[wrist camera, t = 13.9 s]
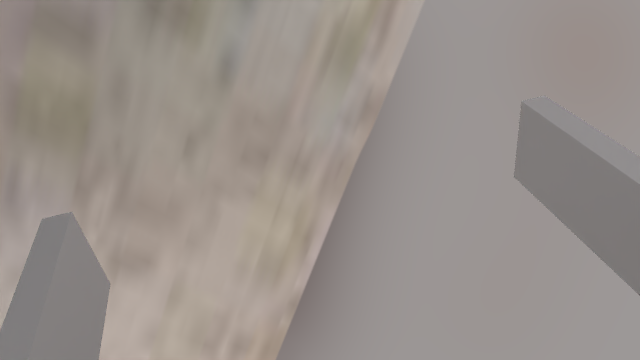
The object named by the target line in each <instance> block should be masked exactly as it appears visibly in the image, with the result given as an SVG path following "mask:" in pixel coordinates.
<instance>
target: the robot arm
mask: <svg viewBox="0 0 640 360" xmlns="http://www.w3.org/2000/svg"><path fill="white" fill-rule="evenodd" d="M514 177H515V178H516V179H517V180H518V181H519V182H520V183H521V184H522V185H523V186H524V187H525V188H526V189H527V190H528V191H529V192H530V193H531V194H533V195H534V196H535V197H536V198H537V199H538V200H539V201H540V202H541V203H542V204H543V205H544V206H545V207H546V208H547V209H548V210H550V211H551V212H552V213H553V214H554V215H555V216H556V217H557V218H558V219H559V220H560V221H561V222H562V223H563V224H564V225H565V226H567V227H568V228H569V229H570V230H571V231H572V232H573V233H574V234H575V235H576V236H577V237H578V238H579V239H580V240H581V241H582V242H583V243H585V244H586V245H587V246H588V247H589V248H590V249H591V250H592V251H593V252H594V253H595V254H596V255H597V256H598V257H599V258H600V259H601V260H602V261H604V262H605V263H606V264H607V265H608V266H609V267H610V268H611V269H612V270H613V271H614V272H615V273H616V274H617V275H618V276H619V277H621V278H622V279H623V280H624V281H625V282H626V283H627V284H628V285H629V286H630V287H631V288H632V289H633V290H634V291H635V292H636V293H638V294H639V295H640V156H638V155H637V154H635V153H634V152H632V151H630V150H629V149H627V148H626V147H624V146H623V145H621V144H619V143H618V142H616V141H615V140H613V139H612V138H610V137H609V136H607V135H605V134H604V133H602V132H601V131H599V130H598V129H596V128H594V127H593V126H591V125H590V124H588V123H587V122H585V121H584V120H582V119H581V118H579V117H578V116H576V115H574V114H573V113H571V112H570V111H568V110H567V109H565V108H564V107H562V106H560V105H559V104H557V103H556V102H554V101H552V100H551V99H550V98H548V97H546V96H541V97H537V98H533V99H529V100H525V101H522V102H521V112H520V122H519V131H518V141H517V151H516V161H515V172H514ZM109 289H110V282H109V280H108V279H107V277H106V275H105V273H104V271H103V269H102V267H101V265H100V264H99V262H98V260H97V258H96V256H95V254H94V252H93V251H92V249H91V247H90V245H89V243H88V241H87V239H86V237H85V236H84V234H83V232H82V230H81V228H80V226H79V224H78V222H77V221H76V219H75V217H74V215H73V213H72V212H69V213H65V214H61V215H57V216H52V217H48V218H44V219H42V221H41V224H40V226H39V229H38V232H37V234H36V237H35V240H34V242H33V245H32V248H31V250H30V253H29V256H28V258H27V261H26V264H25V267H24V269H23V272H22V275H21V277H20V280H19V283H18V285H17V288H16V291H15V293H14V296H13V299H12V301H11V304H10V307H9V309H8V312H7V315H6V317H5V320H4V323H3V325H2V328H1V331H0V360H98V359H99V353H100V347H101V340H102V334H103V327H104V321H105V315H106V308H107V302H108V295H109Z"/></svg>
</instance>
